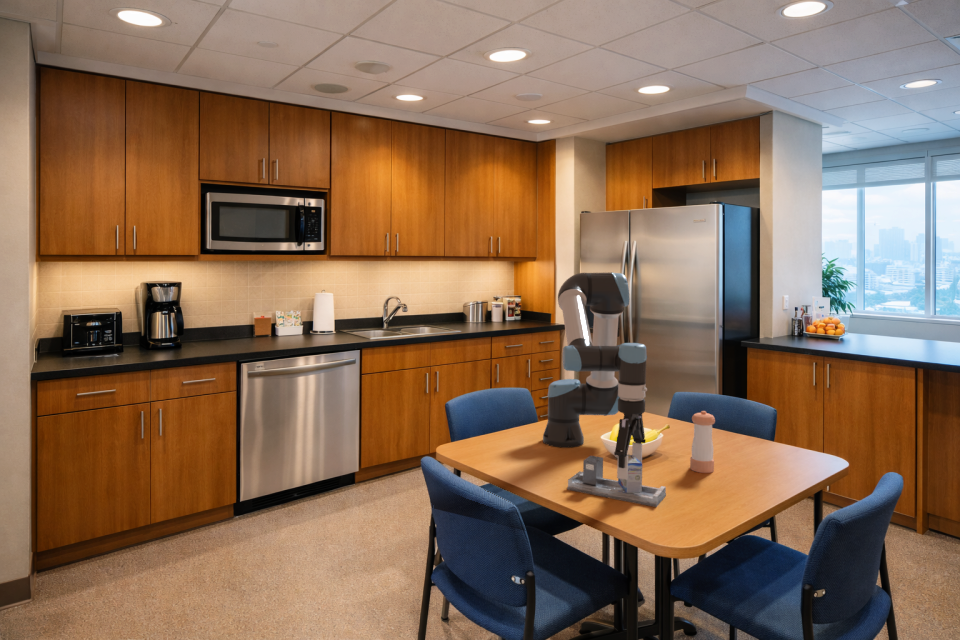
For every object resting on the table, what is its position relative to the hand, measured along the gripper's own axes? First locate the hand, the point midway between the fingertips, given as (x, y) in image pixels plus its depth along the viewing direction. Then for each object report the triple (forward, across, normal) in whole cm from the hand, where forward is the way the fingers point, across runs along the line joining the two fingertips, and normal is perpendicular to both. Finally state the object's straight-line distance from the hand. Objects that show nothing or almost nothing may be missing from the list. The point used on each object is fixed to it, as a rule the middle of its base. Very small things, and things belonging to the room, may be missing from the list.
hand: (629, 471), depth 175 cm
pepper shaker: (+7, +35, -13) cm, 38 cm away
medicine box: (+5, 0, 0) cm, 5 cm away
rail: (+7, 0, +4) cm, 8 cm away
